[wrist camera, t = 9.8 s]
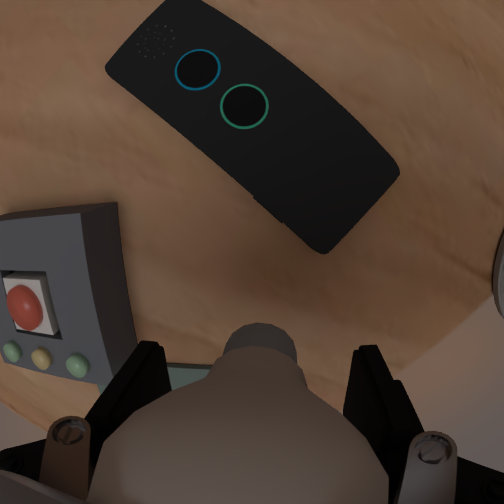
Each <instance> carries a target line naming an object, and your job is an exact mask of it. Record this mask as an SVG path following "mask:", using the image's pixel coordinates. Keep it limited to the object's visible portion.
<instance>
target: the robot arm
mask: <svg viewBox="0 0 504 504" xmlns="http://www.w3.org/2000/svg"><path fill="white" fill-rule="evenodd" d="M493 294H494V300H495V304H496V307H497V309H498V312H499V313H500V315H501V316H502V317H503V318H504V234H503V236H502V239H501V242H500V245H499V248H498V252H497V256H496V261H495V266H494V275H493ZM170 391H172V388H171V383H170V378H169V373H168V368H167V363H166V358H165V352H164V348H163V347H162V346H159V344H158V342H154V341H144V340H143V341H141V342H140V343H139V344H138V345H137V347H136V348H135V349H134V351H133V352H132V354H131V355H130V356H129V358H128V359H127V360H126V362H125V363H124V364H123V366H122V367H121V369H120V370H119V371H118V373H117V374H116V375H115V376H114V377H113V379H112V380H111V381H110V383H109V384H108V386H107V387H106V388H105V390H104V391H103V393H102V394H101V395H100V397H99V398H98V400H97V401H96V402H95V404H94V405H93V407H92V408H91V409H90V411H89V412H88V414H87V415H86V417H85V418H84V419H83V418H81V417H78V416H66V417H63V418H60V419H58V420H56V421H55V422H54V423H53V424H52V425H51V426H50V428H49V430H48V433H47V438H46V439H43V440H39V441H36V442H32V443H29V444H24V445H20V446H16V447H12V448H7V449H4V450H2V451H0V504H92V503H89V502H86V500H87V497H88V493H89V489H90V485H91V482H92V478H93V474H94V471H95V468H96V464H97V461H98V458H99V455H100V452H101V449H102V446H103V443H104V441H105V440H106V439H107V438H108V437H109V436H110V435H111V434H112V433H113V432H114V431H115V430H116V429H118V428H119V427H120V426H121V425H122V424H123V423H124V422H125V421H126V420H127V419H128V418H129V417H130V416H131V415H132V414H133V413H134V412H135V411H137V410H138V409H140V408H142V407H144V406H146V405H147V404H149V403H151V402H153V401H155V400H156V399H158V398H160V397H162V396H163V395H165V394H167V393H169V392H170ZM343 416H344V417H345V418H346V419H347V420H348V421H349V422H350V423H351V424H352V425H353V426H354V427H355V428H356V429H357V430H358V431H359V432H360V433H361V434H362V435H363V436H364V437H365V438H366V439H367V441H368V443H369V444H370V446H371V448H372V449H373V451H374V453H375V455H376V456H377V458H378V460H379V461H380V463H381V465H382V467H383V468H384V470H385V472H386V473H387V475H388V477H389V487H388V504H504V473H502V472H499V471H497V470H494V469H491V468H488V467H485V466H482V465H479V464H477V463H474V462H471V461H469V460H466V459H464V458H461V457H458V456H457V446H456V444H455V442H454V440H453V439H452V438H451V437H449V436H448V435H446V434H444V433H442V432H437V431H427V432H425V431H424V429H423V427H422V425H421V422H420V420H419V418H418V416H417V414H416V412H415V409H414V408H413V405H412V403H411V401H410V399H409V397H408V395H407V393H406V390H405V388H404V386H403V384H402V383H401V381H400V380H393V378H392V376H391V373H390V371H389V369H388V367H387V365H386V363H385V361H384V359H383V357H382V354H381V352H380V350H379V348H378V346H377V345H361V346H360V347H359V350H354V352H353V357H352V363H351V369H350V375H349V381H348V386H347V391H346V397H345V402H344V407H343Z"/></svg>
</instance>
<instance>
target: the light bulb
mask: <svg viewBox="0 0 504 504" xmlns="http://www.w3.org/2000/svg"><path fill="white" fill-rule="evenodd" d="M388 487H389V477H388V475H387V473H386V472H385V470H384V468H383V467H382V465H381V463H380V461H379V460H378V458H377V456H376V455H375V453H374V451H373V449H372V448H371V446H370V444H369V443H368V441H367V439H366V438H365V437H364V436H363V435H362V434H361V433H360V432H359V431H358V430H357V429H356V428H355V427H354V426H353V425H352V424H351V423H350V422H349V421H348V420H347V419H346V418H345V417H344V416H343V415H342V414H341V413H340V412H339V411H337V410H336V409H335V408H333V407H332V406H330V405H329V404H328V403H326V402H325V401H323V400H322V399H321V398H319V397H318V396H317V395H315V394H314V393H313V392H311V391H310V390H309V389H308V387H307V383H306V380H305V377H304V374H303V371H302V369H301V368H300V367H299V366H298V365H297V353H296V349H295V345H294V342H293V340H292V339H291V338H290V337H289V335H288V334H287V333H286V332H285V331H284V330H282V329H280V328H278V327H276V326H274V325H272V324H265V323H253V324H249V325H244V326H243V327H241V328H240V329H238V330H237V331H235V332H234V333H232V335H231V336H230V338H229V340H228V341H227V343H226V346H225V349H224V352H223V355H222V356H221V357H219V358H218V359H217V360H216V361H215V363H214V364H213V366H212V368H211V369H210V371H209V372H208V374H207V376H206V377H205V378H203V379H201V380H198V381H196V382H193V383H191V384H188V385H185V386H183V387H180V388H178V389H175V390H172V391H170V392H169V393H167V394H165V395H163V396H162V397H160V398H158V399H156V400H155V401H153V402H151V403H149V404H147V405H146V406H144V407H142V408H140V409H138V410H137V411H135V412H134V413H133V414H132V415H131V416H130V417H129V418H128V419H127V420H126V421H125V422H124V423H123V424H122V425H121V426H120V427H119V428H118V429H116V430H115V431H114V432H113V433H112V434H111V435H110V436H109V437H108V438H107V439H106V440H105V441H104V443H103V446H102V449H101V452H100V455H99V458H98V461H97V464H96V468H95V471H94V474H93V478H92V482H91V485H90V489H89V493H88V497H87V500H86V502H89V503H92V504H388Z"/></svg>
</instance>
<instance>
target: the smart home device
mask: <svg viewBox="0 0 504 504" xmlns="http://www.w3.org/2000/svg"><path fill="white" fill-rule="evenodd" d="M105 70H106V72H107V74H108V75H109V76H110V77H111V78H112V79H113V80H115V81H116V82H117V83H119V84H120V85H121V86H122V87H124V88H125V89H126V90H127V91H129V92H130V93H131V94H133V95H134V96H135V97H136V98H138V99H139V100H140V101H141V102H143V103H144V104H145V105H146V106H148V107H149V108H150V109H151V110H153V111H154V112H155V113H156V114H157V115H159V116H160V117H161V118H162V119H164V120H165V121H166V122H167V123H169V124H170V125H171V126H172V127H173V128H175V129H176V130H177V131H178V132H179V133H181V134H182V135H183V136H184V137H185V138H187V139H188V140H189V141H190V142H191V143H193V144H194V145H195V146H196V147H197V148H199V149H200V150H201V151H202V152H203V153H204V154H206V155H207V156H208V157H209V158H210V159H212V160H213V161H214V162H215V163H216V164H217V165H219V166H220V167H221V168H222V169H223V170H224V171H226V172H227V173H228V174H229V175H230V176H231V177H232V178H234V179H235V180H236V181H237V182H238V183H239V184H240V185H242V186H243V187H244V188H245V189H246V190H247V191H248V192H250V193H251V194H252V195H253V196H254V197H253V198H254V199H255V200H256V201H257V202H258V203H260V204H261V205H262V206H263V207H264V208H265V209H266V210H267V211H269V212H270V213H271V214H272V215H273V216H274V217H275V218H276V219H277V220H279V221H280V222H281V223H284V224H285V225H286V226H288V227H289V228H290V229H291V230H292V231H293V232H294V233H295V234H296V235H297V236H298V237H300V238H301V239H302V240H303V241H304V242H305V243H306V244H307V245H308V246H309V247H311V248H312V249H313V250H315V251H316V252H318V253H320V254H327V253H329V251H331V250H332V249H333V248H334V247H335V246H336V245H337V244H338V243H339V242H340V240H341V239H342V238H343V237H344V236H345V235H346V234H347V233H348V232H349V231H350V230H351V229H352V228H353V227H354V226H355V225H356V223H357V222H358V221H359V220H360V219H361V218H362V217H363V216H364V215H365V214H366V213H367V212H368V210H369V209H370V208H371V207H372V206H373V205H374V204H375V203H376V202H377V201H378V199H379V198H380V197H381V196H382V195H383V194H384V193H385V192H386V191H387V189H388V188H389V187H390V186H391V185H392V184H393V183H394V182H395V180H396V179H397V178H398V176H399V175H400V170H399V167H398V165H397V163H396V162H395V160H394V159H393V158H392V157H391V156H390V154H389V153H388V152H387V151H386V150H385V149H384V148H383V147H382V146H381V145H380V144H379V143H378V142H377V140H376V139H375V138H374V137H373V136H372V135H371V134H370V133H369V132H368V131H367V130H366V129H365V128H364V127H363V126H362V125H361V124H360V123H359V122H358V121H357V120H356V119H355V118H354V117H353V116H352V115H351V114H350V113H349V112H348V111H347V110H346V109H345V108H344V107H343V106H342V105H340V104H339V103H338V102H337V101H336V100H335V99H334V98H333V97H332V96H331V95H329V94H328V93H327V92H326V91H325V90H324V89H323V88H322V87H320V86H319V85H318V84H317V83H316V82H315V81H313V80H312V79H311V78H310V77H309V76H307V75H306V74H305V73H304V72H303V71H301V70H300V69H299V68H298V67H296V66H295V65H294V64H293V63H292V62H290V61H289V60H288V59H286V58H285V57H284V56H283V55H281V54H280V53H279V52H277V51H276V50H275V49H273V48H272V47H271V46H269V45H268V44H267V43H265V42H264V41H263V40H261V39H260V38H258V37H257V36H256V35H254V34H253V33H251V32H250V31H248V30H247V29H246V28H244V27H243V26H241V25H240V24H238V23H237V22H235V21H234V20H232V19H231V18H229V17H227V16H226V15H224V14H223V13H221V12H220V11H218V10H216V9H215V8H213V7H211V6H210V5H208V4H206V3H205V2H203V1H201V0H165V1H164V2H163V3H162V4H161V5H160V6H159V7H158V8H157V9H156V10H155V11H154V12H153V13H152V14H151V15H150V16H149V17H148V18H147V19H146V20H145V21H144V22H143V23H142V24H141V25H140V26H139V27H138V28H137V29H136V30H135V31H134V32H133V33H132V34H131V36H130V37H129V38H128V39H127V40H126V41H125V42H124V43H123V45H122V46H121V47H120V48H119V49H118V50H117V51H116V53H115V54H114V55H113V56H112V57H111V59H110V60H109V61H108V62H107V64H106V65H105Z"/></svg>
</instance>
